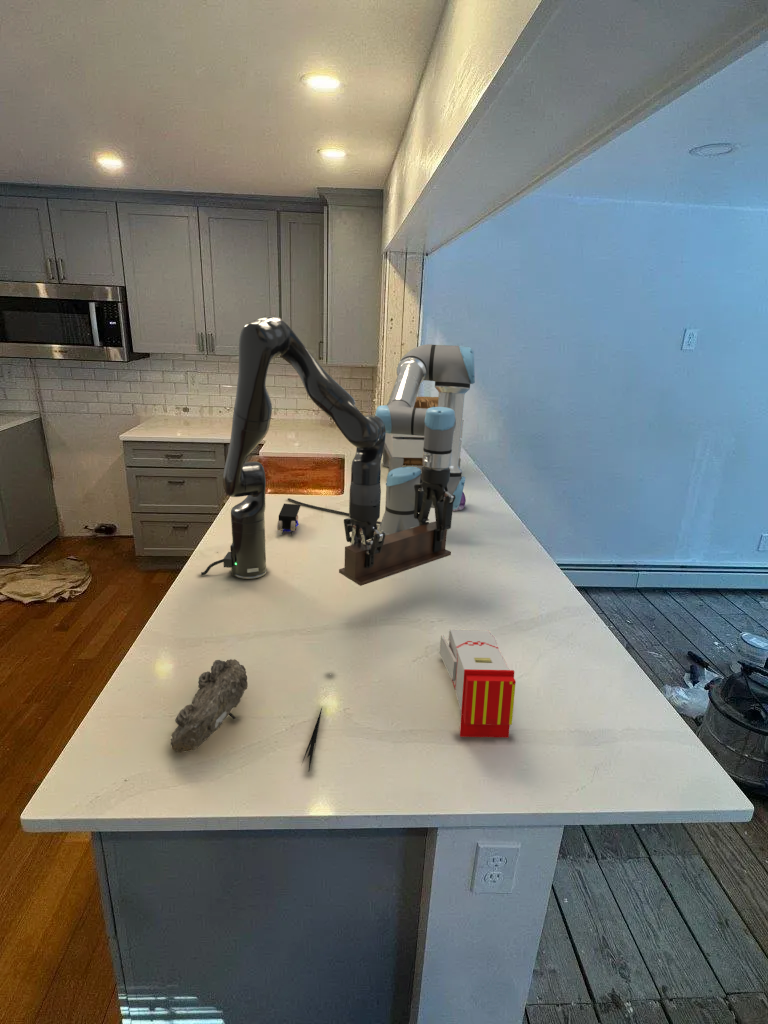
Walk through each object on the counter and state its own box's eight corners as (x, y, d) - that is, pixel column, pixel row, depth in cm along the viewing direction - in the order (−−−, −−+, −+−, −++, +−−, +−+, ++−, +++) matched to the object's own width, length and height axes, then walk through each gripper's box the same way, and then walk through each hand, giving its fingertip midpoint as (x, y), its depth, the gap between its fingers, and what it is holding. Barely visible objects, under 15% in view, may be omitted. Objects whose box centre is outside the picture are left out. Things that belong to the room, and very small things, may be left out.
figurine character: (296, 541, 193) (301, 521, 206) (295, 521, 189) (301, 502, 203) (276, 540, 193) (283, 520, 206) (275, 520, 189) (282, 501, 203)
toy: (489, 613, 130) (525, 677, 101) (485, 667, 133) (518, 744, 104) (437, 612, 130) (457, 676, 101) (434, 666, 133) (453, 743, 103)
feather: (331, 679, 122) (336, 673, 122) (307, 777, 96) (313, 769, 95) (324, 675, 122) (329, 669, 121) (298, 772, 95) (304, 764, 95)
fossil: (195, 660, 117) (247, 628, 112) (227, 691, 120) (279, 661, 115) (146, 746, 98) (206, 711, 93) (185, 779, 101) (245, 748, 96)
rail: (360, 586, 138) (361, 556, 135) (338, 572, 144) (339, 543, 141) (451, 555, 158) (453, 528, 155) (428, 544, 164) (430, 518, 161)
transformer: (381, 463, 289) (385, 382, 275) (444, 464, 292) (450, 384, 279) (389, 482, 257) (393, 392, 243) (459, 483, 261) (467, 394, 247)
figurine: (452, 513, 222) (455, 476, 217) (438, 505, 231) (441, 469, 226) (471, 510, 227) (475, 474, 221) (457, 502, 235) (460, 467, 230)
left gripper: (334, 493, 139) (333, 557, 145) (371, 510, 129) (368, 577, 135) (358, 488, 144) (356, 550, 150) (396, 504, 134) (392, 570, 140)
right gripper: (403, 461, 154) (399, 540, 162) (450, 477, 141) (443, 562, 149) (423, 457, 158) (418, 534, 166) (470, 472, 146) (462, 555, 154)
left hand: (362, 563), depth 142 cm, fingers closed on rail, 4 cm apart
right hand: (430, 547), depth 158 cm, fingers closed on rail, 4 cm apart
